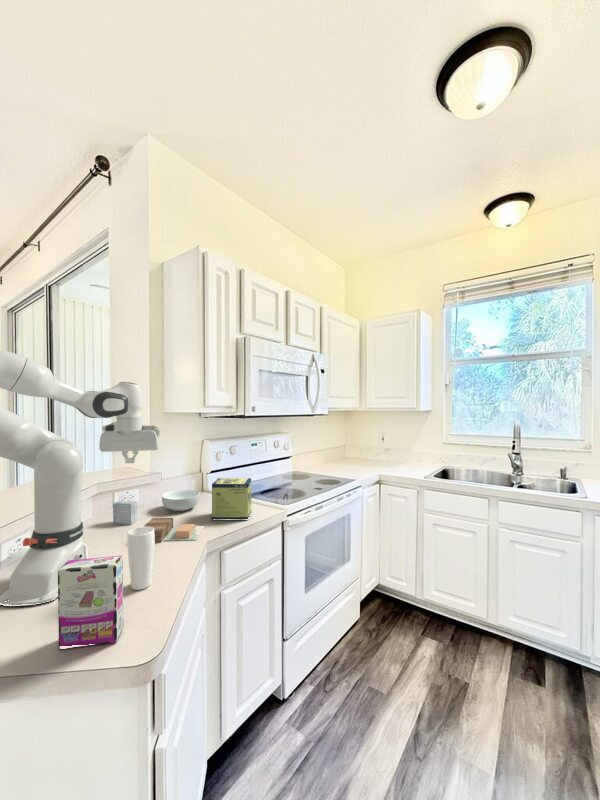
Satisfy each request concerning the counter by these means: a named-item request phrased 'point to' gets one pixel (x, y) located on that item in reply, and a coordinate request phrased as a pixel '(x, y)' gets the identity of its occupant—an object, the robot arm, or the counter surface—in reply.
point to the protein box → (231, 498)
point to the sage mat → (172, 538)
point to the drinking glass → (141, 556)
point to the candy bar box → (90, 601)
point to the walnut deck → (160, 527)
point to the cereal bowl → (180, 499)
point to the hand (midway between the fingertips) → (130, 463)
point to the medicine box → (125, 512)
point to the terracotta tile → (185, 531)
